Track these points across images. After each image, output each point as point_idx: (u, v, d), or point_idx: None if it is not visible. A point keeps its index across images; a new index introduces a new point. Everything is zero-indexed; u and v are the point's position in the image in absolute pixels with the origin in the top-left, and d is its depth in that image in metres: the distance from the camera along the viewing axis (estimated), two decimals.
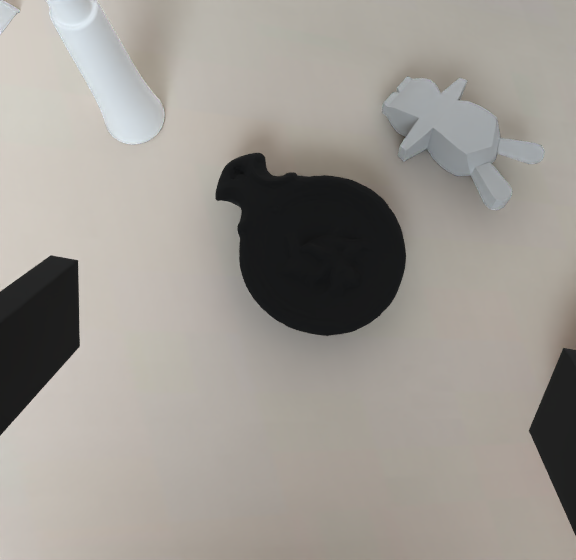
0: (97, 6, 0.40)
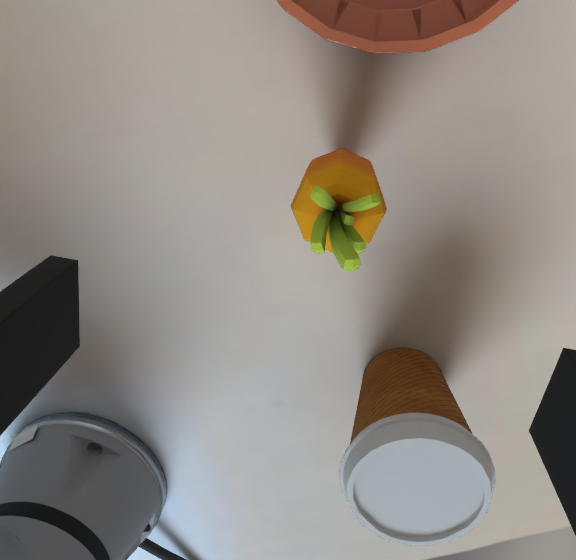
0: None
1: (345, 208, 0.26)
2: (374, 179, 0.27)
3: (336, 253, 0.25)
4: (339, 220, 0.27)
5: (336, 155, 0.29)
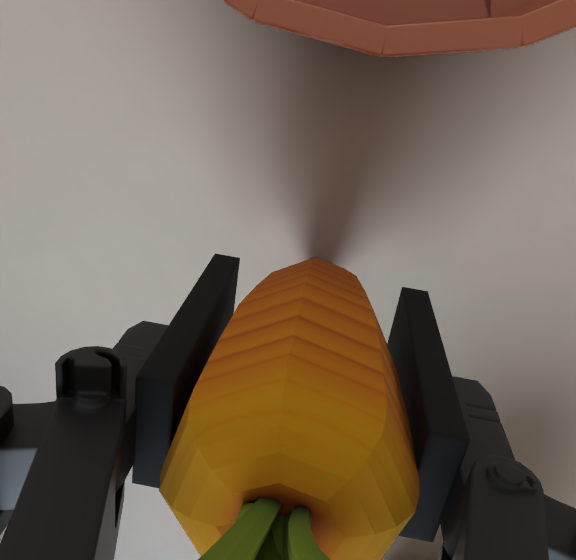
0: None
1: None
2: (385, 425, 0.09)
3: None
4: None
5: (284, 323, 0.11)
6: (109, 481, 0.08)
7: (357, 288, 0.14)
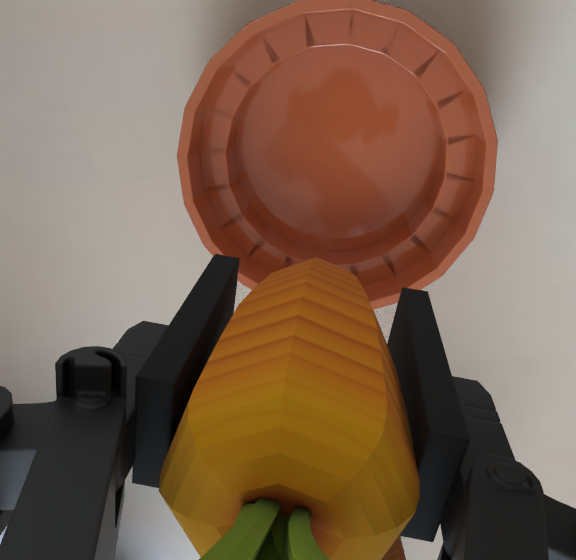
0: None
1: None
2: (386, 426, 0.09)
3: None
4: None
5: (284, 323, 0.11)
6: (109, 481, 0.08)
7: (357, 288, 0.14)
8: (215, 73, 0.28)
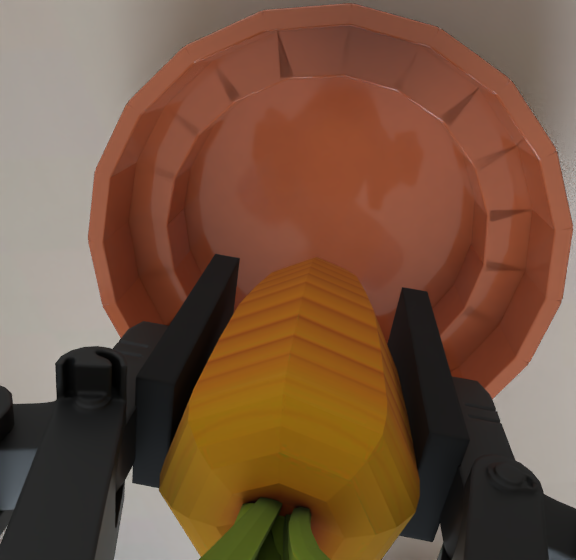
0: None
1: None
2: (386, 426, 0.09)
3: None
4: None
5: (285, 323, 0.11)
6: (109, 481, 0.08)
7: (357, 288, 0.14)
8: (138, 121, 0.18)
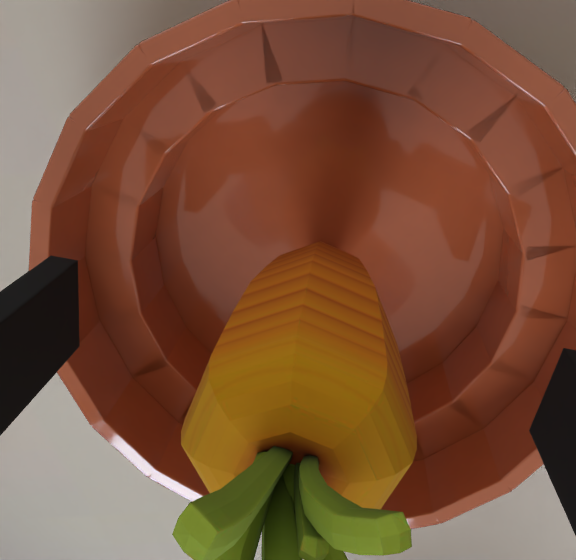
0: None
1: (302, 504, 0.09)
2: (386, 383, 0.10)
3: None
4: (293, 503, 0.10)
5: (294, 295, 0.12)
6: None
7: (360, 268, 0.16)
8: (83, 139, 0.15)
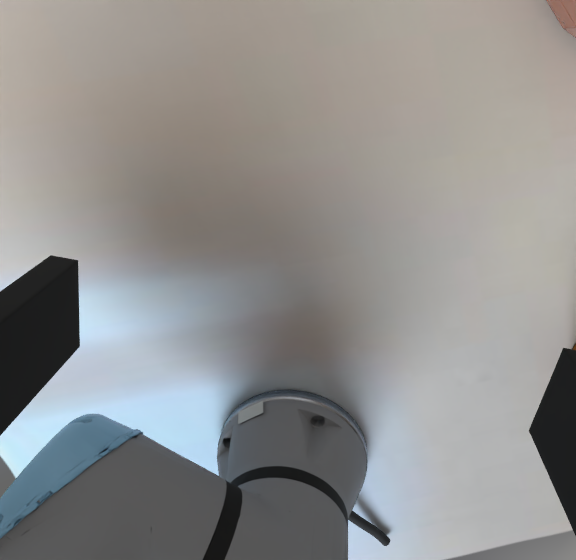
0: None
1: None
2: None
3: None
4: None
5: None
6: None
7: None
8: None
